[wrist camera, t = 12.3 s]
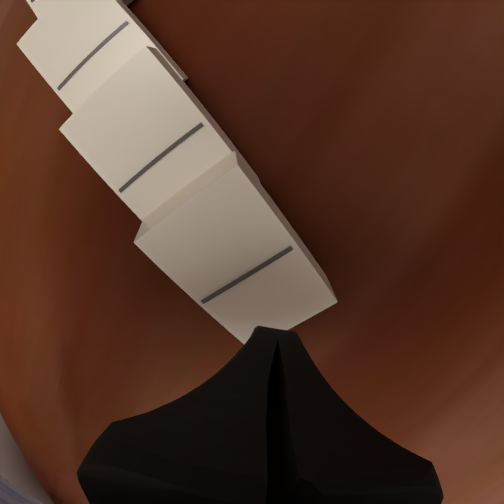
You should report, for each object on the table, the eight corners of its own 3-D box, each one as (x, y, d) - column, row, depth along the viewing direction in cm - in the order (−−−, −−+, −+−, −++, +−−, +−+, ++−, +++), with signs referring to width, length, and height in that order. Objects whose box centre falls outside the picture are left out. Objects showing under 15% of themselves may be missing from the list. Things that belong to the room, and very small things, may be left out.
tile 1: (183, 79, 11) (87, -30, 8) (103, 148, 12) (15, 44, 9) (188, 78, 13) (101, -21, 9) (115, 138, 14) (35, 44, 10)
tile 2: (264, 195, 12) (145, 45, 9) (175, 255, 13) (58, 129, 10) (259, 178, 14) (156, 48, 10) (179, 233, 15) (77, 120, 11)
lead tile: (338, 303, 13) (238, 165, 9) (250, 350, 14) (133, 243, 11) (326, 275, 14) (235, 150, 11) (246, 321, 16) (143, 218, 12)
